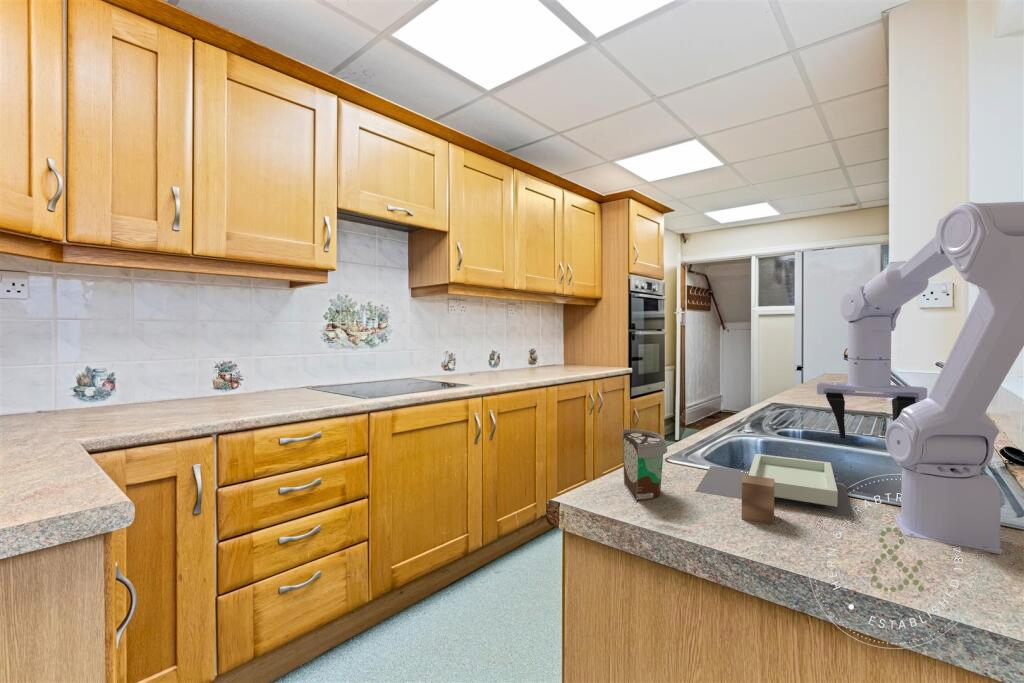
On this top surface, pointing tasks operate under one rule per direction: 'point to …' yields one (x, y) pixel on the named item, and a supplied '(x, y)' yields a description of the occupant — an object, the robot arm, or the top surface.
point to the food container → (643, 463)
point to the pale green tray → (798, 478)
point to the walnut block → (758, 499)
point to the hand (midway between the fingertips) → (868, 439)
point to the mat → (731, 486)
